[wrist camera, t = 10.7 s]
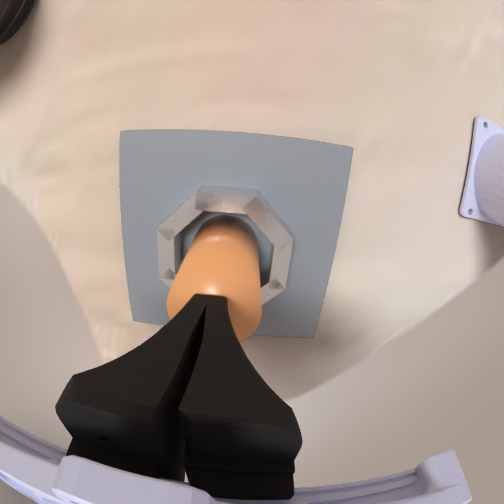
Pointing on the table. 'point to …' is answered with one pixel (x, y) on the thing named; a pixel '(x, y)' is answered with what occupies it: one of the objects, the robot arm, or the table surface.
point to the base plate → (235, 175)
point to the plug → (222, 272)
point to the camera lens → (12, 16)
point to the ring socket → (228, 202)
